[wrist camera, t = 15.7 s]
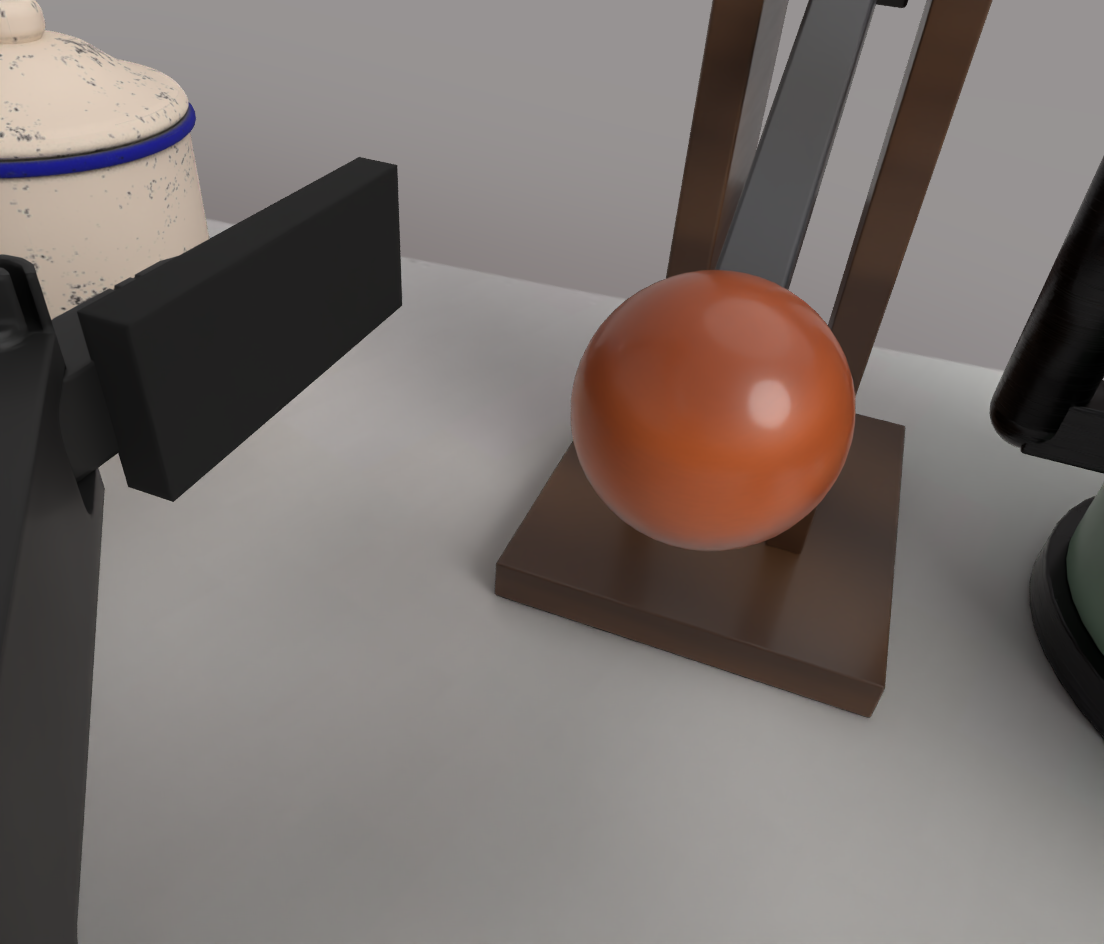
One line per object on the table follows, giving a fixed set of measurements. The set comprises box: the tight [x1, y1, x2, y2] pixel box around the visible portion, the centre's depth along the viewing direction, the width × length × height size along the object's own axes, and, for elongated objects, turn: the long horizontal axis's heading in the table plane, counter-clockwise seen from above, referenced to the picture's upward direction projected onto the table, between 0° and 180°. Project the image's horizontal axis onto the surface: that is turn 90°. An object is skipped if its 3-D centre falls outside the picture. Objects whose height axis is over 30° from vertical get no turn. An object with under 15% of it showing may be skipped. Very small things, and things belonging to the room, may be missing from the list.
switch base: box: [495, 0, 992, 717], centre depth 21 cm, size 12×10×18 cm
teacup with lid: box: [0, 0, 209, 320], centre depth 26 cm, size 12×9×12 cm
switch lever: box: [571, 0, 908, 551], centre depth 15 cm, size 15×4×4 cm, turn 159°
